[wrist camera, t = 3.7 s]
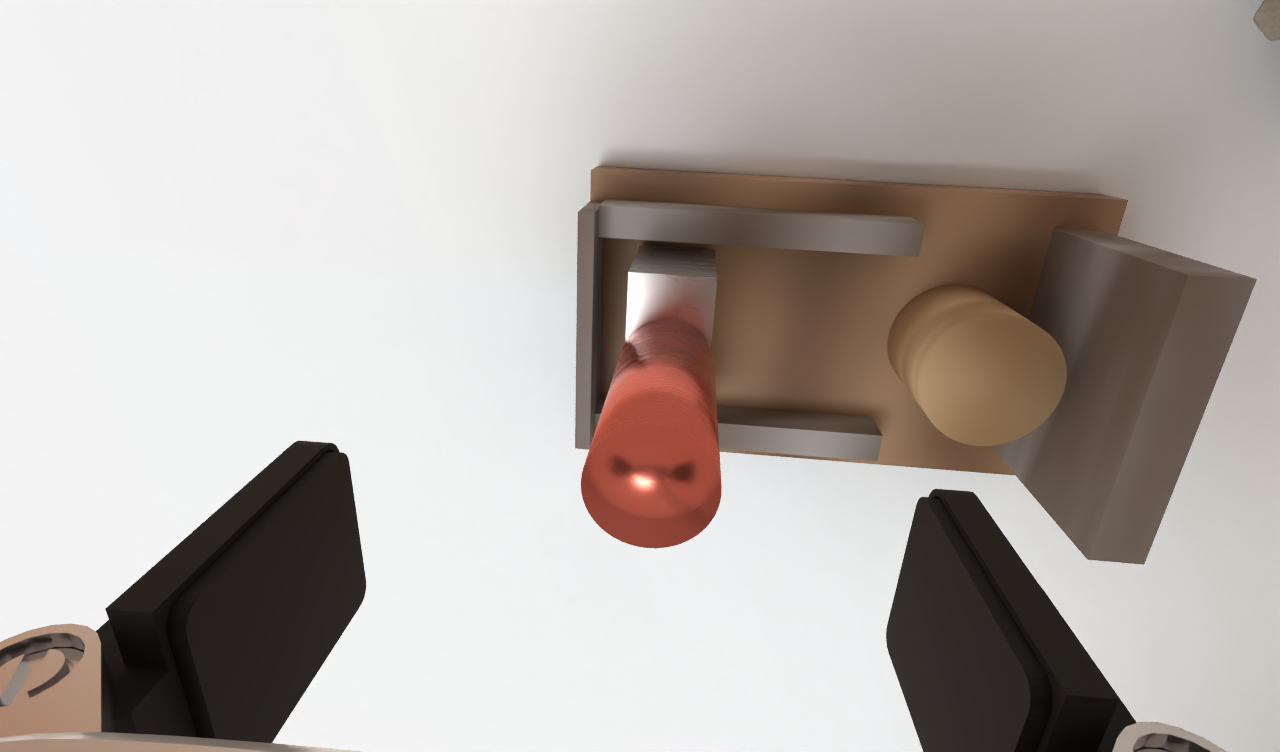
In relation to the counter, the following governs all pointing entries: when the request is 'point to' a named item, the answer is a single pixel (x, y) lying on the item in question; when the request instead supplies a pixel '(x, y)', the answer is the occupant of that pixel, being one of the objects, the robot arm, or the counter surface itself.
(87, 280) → the counter surface
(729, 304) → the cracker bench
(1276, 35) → the egg carton
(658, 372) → the handle
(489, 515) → the counter surface
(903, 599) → the robot arm
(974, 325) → the tan wooden knob
